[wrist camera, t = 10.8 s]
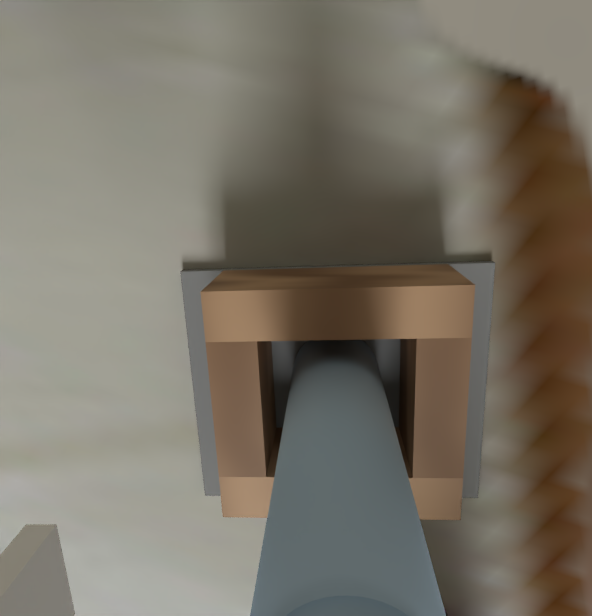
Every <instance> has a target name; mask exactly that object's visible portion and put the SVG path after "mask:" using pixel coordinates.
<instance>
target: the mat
mask: <svg viewBox="0 0 592 616" xmlns="http://www.w3.org/2000/svg"><path fill="white" fill-rule="evenodd" d="M436 264H449V265H450V266H451V267H453V268H454V269H455V270H456V271H458V272H459V273H460V274H462V275H463V276H464V277H466V278H467V279H468V280H470V281H471V282H472V283H473V284H475V297H474V312H473V328H472V344H471V360H470V376H469V392H468V408H467V424H466V440H465V456H464V472H463V488H462V498H478V489H479V476H480V462H481V448H482V435H483V421H484V408H485V394H486V380H487V367H488V353H489V340H490V326H491V312H492V299H493V285H494V272H495V262H493V261H481V262H446V263H411V264H377V265H342V266H307V267H272V268H237V269H202V270H182V271H181V281H182V290H183V300H184V309H185V318H186V327H187V336H188V345H189V354H190V363H191V372H192V381H193V390H194V399H195V408H196V417H197V426H198V435H199V444H200V454H201V463H202V472H203V481H204V490H205V496H221V493H220V483H219V473H218V463H217V453H216V443H215V433H214V423H213V413H212V403H211V393H210V383H209V373H208V363H207V353H206V343H205V333H204V323H203V313H202V303H201V293H200V292H201V291H202V290H203V289H204V288H205V287H206V286H207V285H208V284H209V283H210V282H212V281H213V280H214V279H215V278H216V277H217V276H218V275H219V274H220V273H221V272H222V271H225V270H260V269H295V268H331V267H366V266H401V265H436ZM307 341H308V340H307ZM307 341H271V343H272V360H273V377H274V393H275V410H276V427H277V428H283V424H284V419H285V413H286V407H287V401H288V396H289V390H290V384H291V378H292V373H293V367H294V361H295V358H296V356H297V354H298V352H299V350H300V349H301V347H302V346H303V345H304V344H305V343H306V342H307ZM363 341H364V342H365V343H366V344H367V345H368V346H369V347H370V349H371V350H372V352H373V353H374V355H375V358H376V361H377V364H378V368H379V372H380V375H381V379H382V383H383V386H384V390H385V394H386V397H387V401H388V405H389V408H390V412H391V416H392V419H393V423H394V427H399V391H400V339H367V340H363Z"/></svg>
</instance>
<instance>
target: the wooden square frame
mask: <svg viewBox="0 0 592 616" xmlns="http://www.w3.org/2000/svg"><path fill="white" fill-rule="evenodd" d="M200 293H201V303H202V313H203V323H204V333H205V343H206V353H207V363H208V373H209V383H210V393H211V403H212V413H213V423H214V433H215V443H216V453H217V463H218V473H219V483H220V493H221V503H222V513H223V517H257V518H267V517H268V511H269V505H270V499H271V494H272V488H273V482H274V476H275V471H276V465H277V459H278V453H279V448H280V442H281V436H282V430H283V428H277V427H276V410H275V393H274V377H273V360H272V343H271V341H307V340H367V339H400V391H399V427H395V430H396V434H397V438H398V441H399V445H400V449H401V452H402V456H403V460H404V463H405V467H406V471H407V474H408V478H409V482H410V485H411V489H412V493H413V496H414V500H415V504H416V507H417V511H418V515H419V518H420V520H461V504H462V488H463V472H464V456H465V440H466V424H467V408H468V392H469V376H470V360H471V344H472V328H473V312H474V297H475V284H473V283H472V282H471V281H470V280H468V279H467V278H466V277H464V276H463V275H462V274H460V273H459V272H458V271H456V270H455V269H454V268H453V267H451V266H450V265H449V264H436V265H401V266H366V267H331V268H295V269H260V270H225V271H222V272H221V273H220V274H219V275H218V276H217V277H216V278H215V279H214V280H213V281H212V282H210V283H209V284H208V285H207V286H206V287H205V288H204V289H203V290H202V291H201V292H200Z"/></svg>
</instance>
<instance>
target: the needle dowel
mask: <svg viewBox="0 0 592 616" xmlns="http://www.w3.org/2000/svg"><path fill="white" fill-rule="evenodd" d="M250 616H446V614H445V610H444V606H443V603H442V599H441V595H440V592H439V588H438V584H437V581H436V577H435V573H434V570H433V566H432V562H431V559H430V555H429V551H428V548H427V544H426V540H425V537H424V533H423V529H422V526H421V522H420V518H419V515H418V511H417V507H416V504H415V500H414V496H413V493H412V489H411V485H410V482H409V478H408V474H407V471H406V467H405V463H404V460H403V456H402V452H401V449H400V445H399V441H398V438H397V434H396V430H395V427H394V423H393V419H392V416H391V412H390V408H389V405H388V401H387V397H386V394H385V390H384V386H383V383H382V379H381V375H380V372H379V368H378V364H377V361H376V358H375V355H374V353H373V352H372V350H371V349H370V347H369V346H368V345H367V344H366V343H365V342H364V341H363V340H308V341H307V342H306V343H305V344H304V345H303V346H302V347H301V349H300V350H299V352H298V354H297V356H296V358H295V361H294V367H293V373H292V378H291V384H290V390H289V396H288V401H287V407H286V413H285V419H284V424H283V430H282V436H281V442H280V448H279V453H278V459H277V465H276V471H275V476H274V482H273V488H272V494H271V499H270V505H269V511H268V517H267V522H266V528H265V534H264V540H263V545H262V551H261V557H260V563H259V568H258V574H257V580H256V586H255V592H254V597H253V603H252V609H251V615H250Z"/></svg>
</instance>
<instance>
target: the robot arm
mask: <svg viewBox="0 0 592 616" xmlns="http://www.w3.org/2000/svg"><path fill="white" fill-rule="evenodd" d="M74 614H75V611H74V607H73V602H72V597H71V592H70V587H69V583H68V578H67V573H66V568H65V564H64V559H63V554H62V549H61V544H60V540H59V535H58V530H57V525H25V527H24V528H23V529H22V530H21V531H20V532H19V534H18V535H17V536H16V537H15V538H14V540H13V541H12V542H11V543H10V544H9V545H8V547H7V548H6V549H5V550H4V551H3V553H2V554H1V555H0V616H74Z"/></svg>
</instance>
